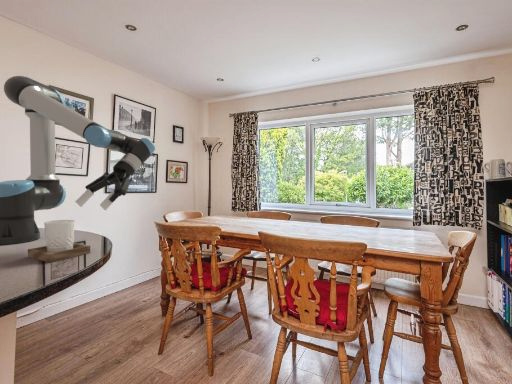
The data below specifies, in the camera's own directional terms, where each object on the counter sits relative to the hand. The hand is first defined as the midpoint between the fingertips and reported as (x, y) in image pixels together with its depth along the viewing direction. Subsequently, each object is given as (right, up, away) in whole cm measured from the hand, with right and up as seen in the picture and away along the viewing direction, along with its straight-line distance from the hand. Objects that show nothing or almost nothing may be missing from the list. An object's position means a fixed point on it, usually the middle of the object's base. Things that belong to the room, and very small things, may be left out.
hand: (90, 206), depth 98 cm
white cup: (-3, -15, -10) cm, 18 cm away
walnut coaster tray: (-3, -15, -10) cm, 19 cm away
